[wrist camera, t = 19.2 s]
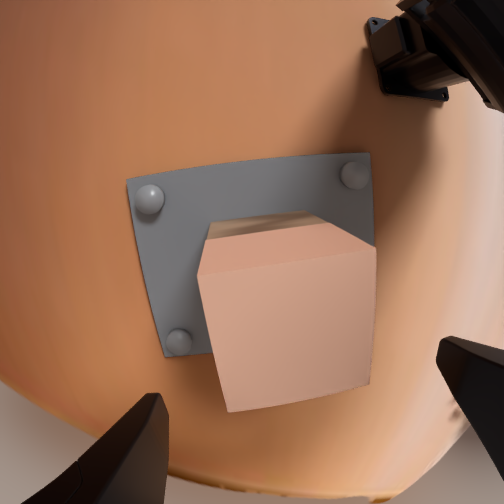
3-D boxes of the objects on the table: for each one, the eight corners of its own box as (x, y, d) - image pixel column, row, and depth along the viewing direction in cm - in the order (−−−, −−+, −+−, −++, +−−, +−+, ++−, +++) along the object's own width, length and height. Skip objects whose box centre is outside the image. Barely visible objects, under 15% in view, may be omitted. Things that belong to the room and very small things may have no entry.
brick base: (304, 210, 19) (330, 223, 15) (310, 295, 21) (333, 330, 16) (210, 222, 19) (206, 240, 14) (224, 308, 21) (225, 348, 16)
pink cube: (329, 222, 15) (376, 248, 10) (333, 329, 16) (369, 384, 11) (205, 240, 14) (196, 275, 10) (225, 348, 16) (227, 412, 11)
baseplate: (366, 152, 19) (375, 152, 18) (368, 322, 23) (375, 330, 22) (128, 179, 18) (122, 179, 17) (166, 352, 22) (163, 363, 21)
